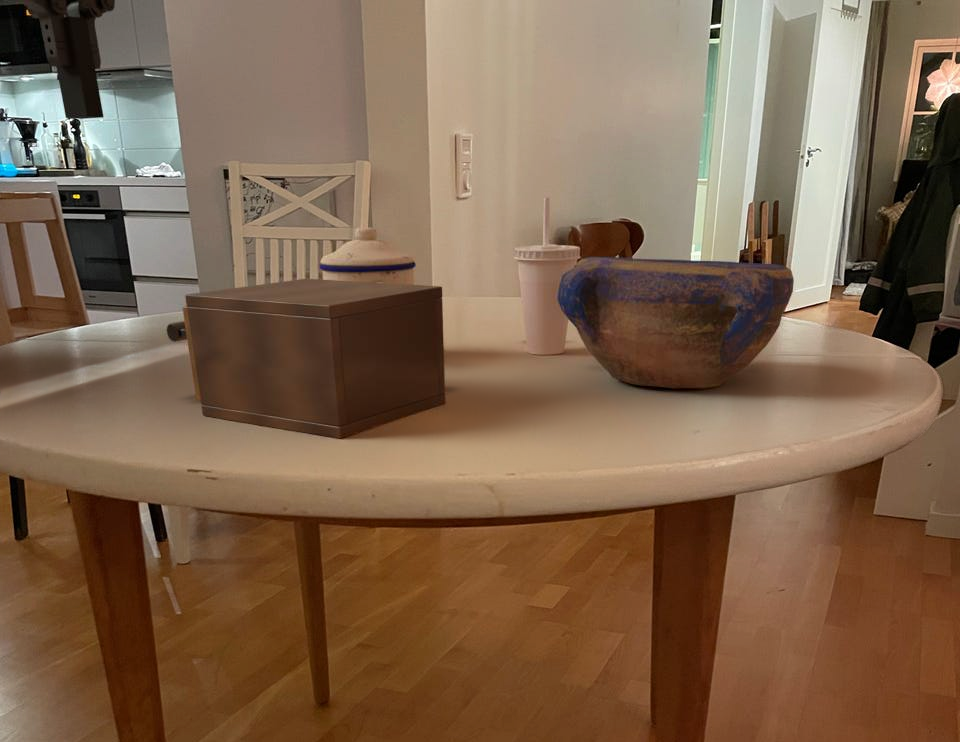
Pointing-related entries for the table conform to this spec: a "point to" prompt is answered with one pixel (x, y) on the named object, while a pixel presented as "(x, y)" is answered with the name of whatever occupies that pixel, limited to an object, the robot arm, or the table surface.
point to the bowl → (674, 316)
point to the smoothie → (544, 290)
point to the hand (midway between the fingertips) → (84, 117)
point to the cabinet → (318, 353)
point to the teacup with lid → (368, 261)
